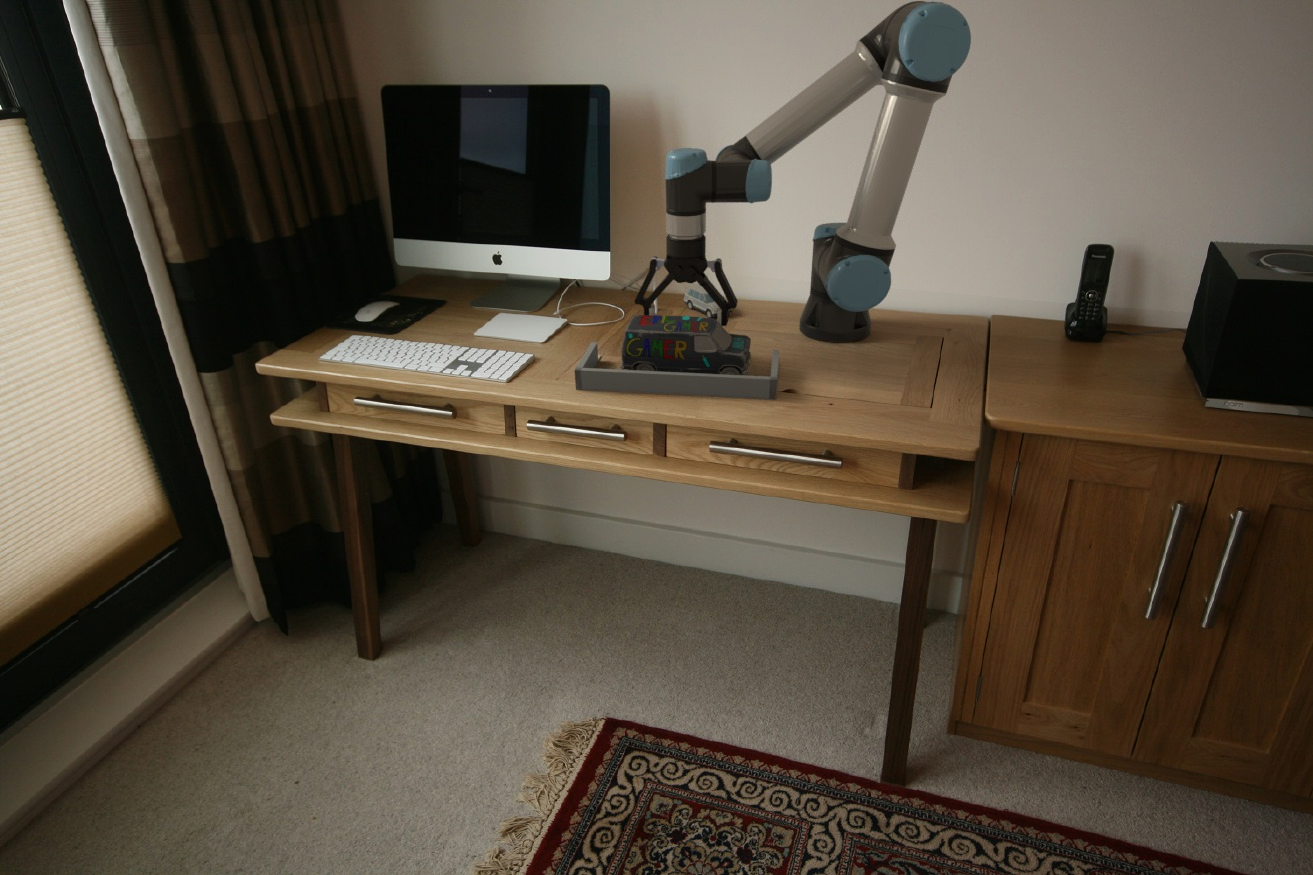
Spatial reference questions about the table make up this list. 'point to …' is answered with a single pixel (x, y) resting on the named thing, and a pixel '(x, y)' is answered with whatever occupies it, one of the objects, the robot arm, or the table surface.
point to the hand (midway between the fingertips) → (685, 339)
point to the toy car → (701, 301)
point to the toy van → (683, 346)
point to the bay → (673, 380)
